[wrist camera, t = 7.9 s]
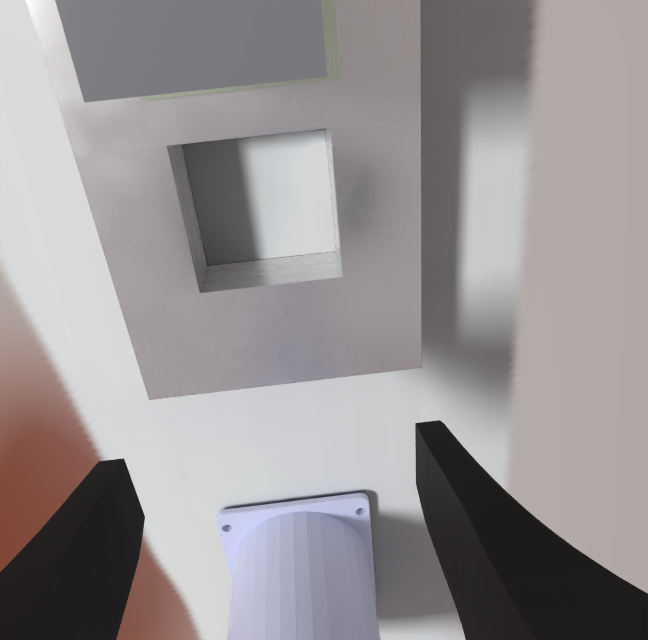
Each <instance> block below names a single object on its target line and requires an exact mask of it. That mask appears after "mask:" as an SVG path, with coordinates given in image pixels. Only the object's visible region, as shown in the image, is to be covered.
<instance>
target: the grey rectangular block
mask: <svg viewBox="0 0 648 640" xmlns="http://www.w3.org/2000/svg"><path fill="white" fill-rule="evenodd" d="M55 2H56V5H57V9H58V12H59V16H60V19H61V23H62V26H63V30H64V33H65V37H66V40H67V44H68V47H69V51H70V54H71V58H72V61H73V65H74V68H75V72H76V75H77V79H78V82H79V86H80V89H81V93H82V96H83V100H84V103H85V102H94V101H103V100H113V99H122V98H131V97H141V96H150V95H160V94H169V93H178V92H188V91H197V90H206V89H216V88H225V87H235V86H244V85H253V84H263V83H272V82H282V81H291V80H300V79H310V78H319V77H327V70H326V57H325V45H324V32H323V20H322V8H321V0H55Z"/></svg>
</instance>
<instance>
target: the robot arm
mask: <svg viewBox="0 0 648 640" xmlns="http://www.w3.org/2000/svg"><path fill="white" fill-rule="evenodd" d="M415 424H416V485H417V490H418V494H419V498H420V502H421V507H422V511H423V515H424V519H425V522H426V525H427V528H428V531H429V534H430V537H431V539H432V542H433V545H434V548H435V550H436V553H437V556H438V559H439V561H440V564H441V567H442V570H443V572H444V575H445V578H446V581H447V583H448V586H449V589H450V591H451V594H452V597H453V600H454V602H455V605H456V608H457V611H458V614H459V617H460V621H461V624H462V627H463V631H464V634H465V638H466V640H648V594H647V593H646V592H644V591H642V590H640V589H638V588H637V587H635V586H634V585H632V584H630V583H628V582H627V581H625V580H623V579H622V578H620V577H618V576H616V575H615V574H613V573H612V572H610V571H609V570H607V569H606V568H604V567H603V566H601V565H600V564H598V563H597V562H595V561H594V560H592V559H591V558H589V557H588V556H586V555H585V554H583V553H582V552H580V551H579V550H577V549H575V548H574V547H573V546H571V545H570V544H569V543H567V542H566V541H565V540H563V539H562V538H561V537H559V536H558V535H557V534H555V533H554V532H553V531H552V530H550V529H549V528H548V527H546V526H545V525H544V524H543V523H541V522H540V521H539V520H538V519H536V518H535V517H534V516H533V515H532V514H531V513H529V512H528V511H527V510H526V509H525V508H524V507H523V506H522V505H520V504H519V503H518V502H517V501H516V500H515V499H514V498H513V497H512V496H511V495H509V494H508V493H507V492H506V491H505V490H504V489H503V488H502V487H501V486H500V485H499V484H498V483H497V482H496V481H495V480H494V479H493V478H492V477H491V476H490V475H489V474H488V473H487V472H486V471H485V470H484V469H483V468H482V467H481V466H480V465H479V464H478V462H477V461H476V460H475V459H474V458H473V457H472V456H471V455H470V454H469V453H468V451H467V450H466V449H465V448H464V447H463V446H462V445H461V444H460V442H459V441H458V440H457V439H456V438H455V436H454V435H453V434H452V433H451V432H450V430H449V429H448V428H447V427H446V425H445V424H444V423H443V422H441V421H440V420H439V421H431V422H422V423H415ZM359 508H362V509H359ZM144 520H145V516H144V513H143V510H142V508H141V505H140V502H139V499H138V496H137V494H136V491H135V488H134V485H133V483H132V480H131V477H130V474H129V471H128V469H127V466H126V463H125V460H124V459H116V460H107V461H99V462H98V463H97V464H96V466H95V467H94V468H93V469H92V470H91V471H90V473H89V474H88V475H87V476H86V477H85V478H84V480H83V481H82V482H81V483H80V484H79V485H78V487H77V488H76V489H75V490H74V491H73V493H72V494H71V495H70V496H69V497H68V499H67V500H66V501H65V502H64V503H63V504H62V506H61V507H60V508H59V509H58V510H57V511H56V513H55V514H54V515H53V516H52V517H51V518H50V520H49V521H48V522H47V523H46V524H45V525H44V526H43V527H42V529H41V530H40V531H39V532H38V533H37V534H36V535H35V536H34V537H33V539H32V540H31V541H30V542H29V543H28V544H27V545H26V546H25V547H24V548H23V549H22V550H21V551H20V552H19V553H18V554H17V555H16V557H15V558H14V559H13V560H12V561H11V562H10V563H9V564H8V565H7V566H6V567H5V568H4V569H3V570H2V571H1V572H0V640H116V638H117V635H118V631H119V628H120V624H121V620H122V617H123V614H124V610H125V607H126V603H127V600H128V596H129V592H130V589H131V585H132V581H133V578H134V574H135V571H136V567H137V563H138V559H139V554H140V548H141V542H142V535H143V527H144ZM216 525H217V529H218V532H219V536H220V540H221V544H222V547H223V551H224V555H225V558H226V562H227V566H228V569H229V573H230V577H231V581H232V588H231V600H230V613H229V626H228V638H227V640H381V639H380V633H379V627H378V621H377V615H376V609H375V606H376V591H375V576H374V562H373V547H372V533H371V518H370V504H369V498H368V496H367V495H366V494H363V493H355V494H346V495H338V496H330V497H322V498H314V499H306V500H298V501H290V502H282V503H273V504H265V505H257V506H249V507H241V508H233V509H225V510H221V511H219V512H218V513H217V515H216ZM226 525H229V526H226Z"/></svg>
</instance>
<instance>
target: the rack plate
mask: <svg viewBox="0 0 648 640" xmlns="http://www.w3.org/2000/svg"><path fill="white" fill-rule="evenodd" d="M26 1H27V4H28V8H29V11H30V14H31V17H32V21H33V24H34V27H35V30H36V34H37V37H38V40H39V43H40V47H41V50H42V53H43V56H44V60H45V63H46V66H47V69H48V73H49V76H50V79H51V82H52V86H53V89H54V92H55V95H56V99H57V102H58V105H59V108H60V112H61V115H62V118H63V121H64V125H65V128H66V131H67V134H68V138H69V141H70V144H71V147H72V151H73V154H74V157H75V160H76V164H77V167H78V170H79V173H80V177H81V180H82V183H83V186H84V190H85V193H86V196H87V199H88V203H89V206H90V209H91V212H92V216H93V219H94V222H95V225H96V229H97V232H98V235H99V238H100V242H101V245H102V248H103V251H104V255H105V258H106V261H107V264H108V268H109V271H110V274H111V277H112V281H113V284H114V287H115V290H116V294H117V297H118V300H119V303H120V307H121V310H122V313H123V316H124V320H125V323H126V326H127V329H128V333H129V336H130V339H131V342H132V346H133V349H134V352H135V355H136V359H137V362H138V365H139V368H140V372H141V375H142V378H143V381H144V385H145V388H146V391H147V394H148V398H149V400H152V399H161V398H169V397H178V396H186V395H195V394H203V393H211V392H220V391H228V390H237V389H245V388H254V387H262V386H271V385H279V384H288V383H296V382H304V381H313V380H321V379H330V378H338V377H347V376H355V375H364V374H372V373H381V372H389V371H397V370H406V369H414V368H422V342H421V0H321V8H322V20H323V32H324V45H325V57H326V70H327V77H319V78H310V79H300V80H291V81H282V82H272V83H263V84H253V85H244V86H235V87H225V88H216V89H206V90H197V91H188V92H178V93H169V94H160V95H150V96H141V97H131V98H122V99H113V100H103V101H94V102H85V103H84V100H83V96H82V93H81V89H80V86H79V82H78V79H77V75H76V72H75V68H74V65H73V61H72V58H71V54H70V51H69V47H68V44H67V40H66V37H65V33H64V30H63V26H62V23H61V19H60V16H59V12H58V9H57V5H56V2H55V0H26ZM317 129H326V141H327V152H328V164H329V176H330V188H331V200H332V211H333V223H334V235H335V247H336V251H335V252H326V253H318V254H309V255H300V256H291V257H282V258H273V259H264V260H256V261H247V262H238V263H229V264H220V265H211V266H207V262H206V257H205V253H204V248H203V243H202V238H201V234H200V229H199V224H198V219H197V215H196V210H195V205H194V200H193V196H192V191H191V186H190V182H189V177H188V172H187V167H186V163H185V158H184V153H183V148H182V144H187V143H197V142H206V141H215V140H224V139H234V138H243V137H252V136H262V135H271V134H280V133H289V132H299V131H308V130H317Z"/></svg>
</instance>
